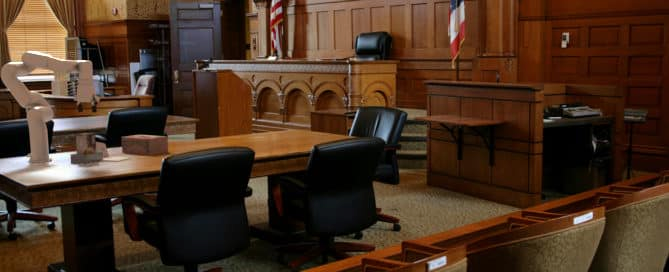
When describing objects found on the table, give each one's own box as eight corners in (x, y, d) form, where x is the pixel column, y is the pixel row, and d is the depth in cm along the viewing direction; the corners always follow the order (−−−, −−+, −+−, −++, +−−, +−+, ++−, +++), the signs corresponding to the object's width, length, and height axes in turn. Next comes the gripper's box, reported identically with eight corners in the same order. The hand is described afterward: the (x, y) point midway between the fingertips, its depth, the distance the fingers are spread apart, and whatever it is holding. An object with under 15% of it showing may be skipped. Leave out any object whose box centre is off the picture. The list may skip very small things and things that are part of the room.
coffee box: (89, 160, 408) (88, 132, 406) (97, 160, 404) (95, 133, 403) (76, 162, 400) (75, 134, 398) (84, 163, 397) (82, 134, 395)
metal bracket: (70, 163, 398) (70, 154, 397) (87, 159, 411) (86, 151, 410) (86, 163, 394) (86, 154, 393) (103, 160, 407) (102, 151, 406)
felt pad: (100, 160, 404) (100, 159, 404) (113, 157, 415) (113, 156, 415) (117, 161, 400) (117, 160, 400) (130, 158, 411) (130, 157, 411)
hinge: (81, 159, 413) (78, 142, 415) (79, 160, 417) (76, 144, 418) (109, 156, 423) (106, 140, 425) (107, 158, 427) (104, 142, 428)
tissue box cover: (168, 152, 437) (167, 136, 436) (150, 155, 425) (149, 139, 424) (140, 150, 451) (139, 134, 450) (122, 152, 439) (121, 137, 438)
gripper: (69, 82, 398) (70, 112, 400) (94, 82, 392) (95, 113, 394) (78, 81, 405) (79, 111, 407) (102, 82, 399) (104, 112, 401)
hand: (87, 112), depth 401 cm, fingers open, 9 cm apart
